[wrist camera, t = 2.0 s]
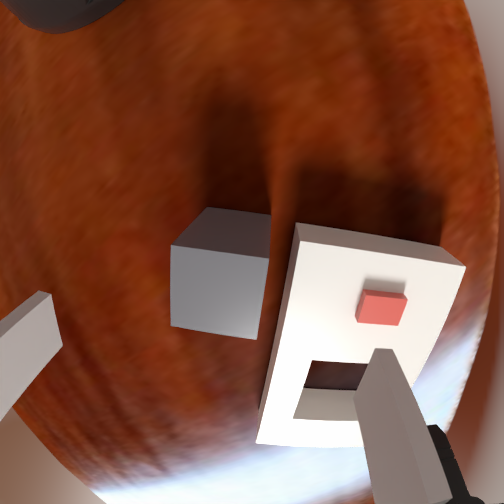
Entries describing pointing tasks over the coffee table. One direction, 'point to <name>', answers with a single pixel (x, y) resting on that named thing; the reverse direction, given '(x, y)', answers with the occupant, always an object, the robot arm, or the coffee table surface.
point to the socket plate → (349, 325)
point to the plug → (220, 272)
